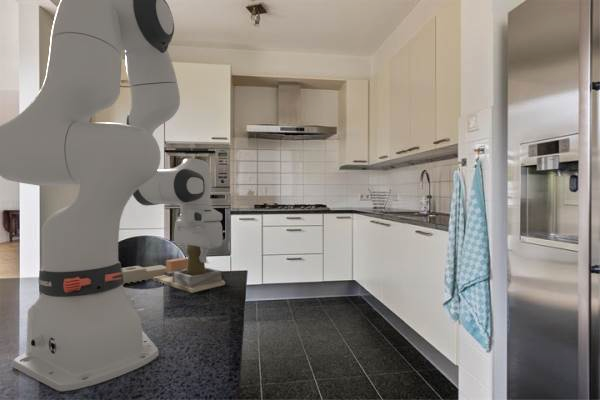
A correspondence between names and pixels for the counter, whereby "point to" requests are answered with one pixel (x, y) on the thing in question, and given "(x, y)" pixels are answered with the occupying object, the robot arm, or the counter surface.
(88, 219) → the robot arm
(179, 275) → the rail panel
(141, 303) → the counter surface
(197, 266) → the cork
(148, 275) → the electrical outlet
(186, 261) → the block
